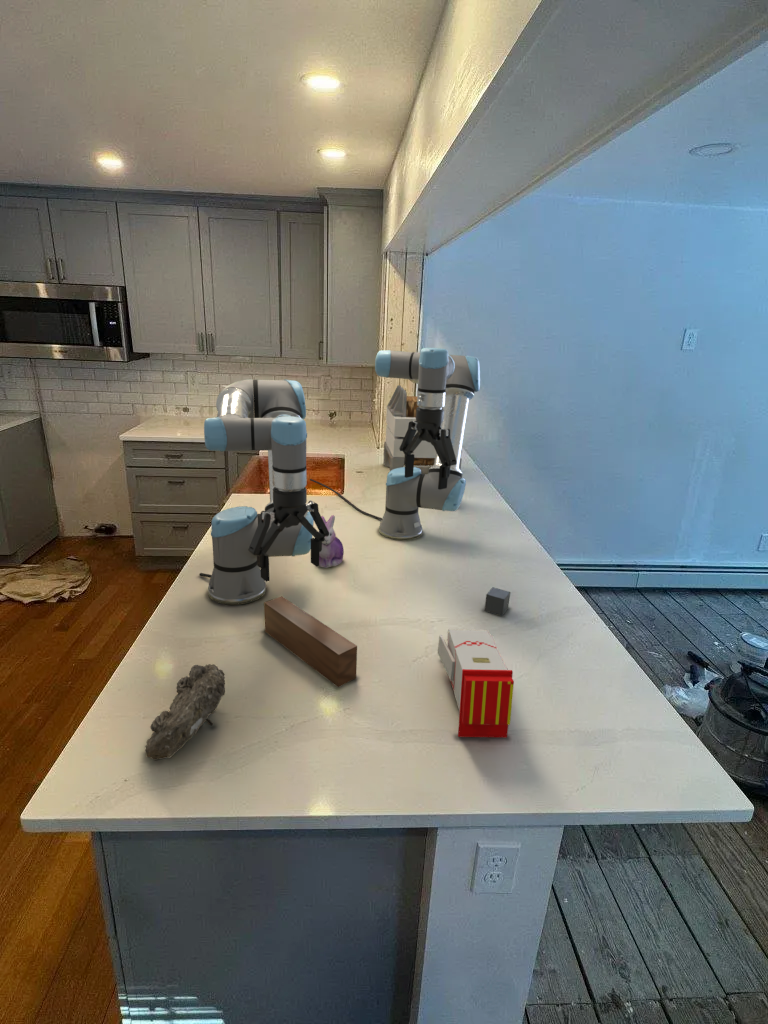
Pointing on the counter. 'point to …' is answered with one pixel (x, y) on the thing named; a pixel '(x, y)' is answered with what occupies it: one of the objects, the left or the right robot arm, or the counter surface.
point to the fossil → (186, 710)
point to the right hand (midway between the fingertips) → (425, 482)
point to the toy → (478, 682)
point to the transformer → (404, 432)
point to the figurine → (331, 547)
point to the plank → (311, 641)
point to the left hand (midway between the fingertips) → (290, 571)
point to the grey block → (497, 601)
